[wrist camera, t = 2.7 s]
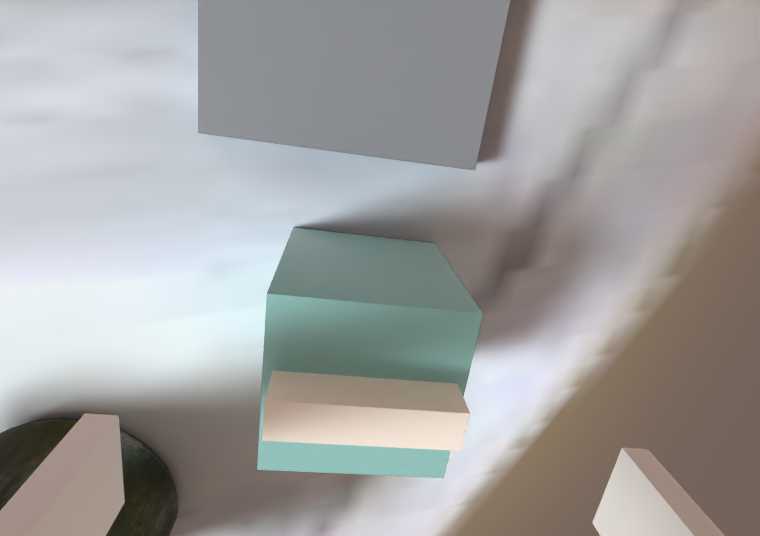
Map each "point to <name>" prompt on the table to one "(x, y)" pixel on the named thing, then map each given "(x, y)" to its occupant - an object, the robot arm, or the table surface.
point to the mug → (139, 464)
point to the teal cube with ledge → (364, 357)
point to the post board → (351, 74)
